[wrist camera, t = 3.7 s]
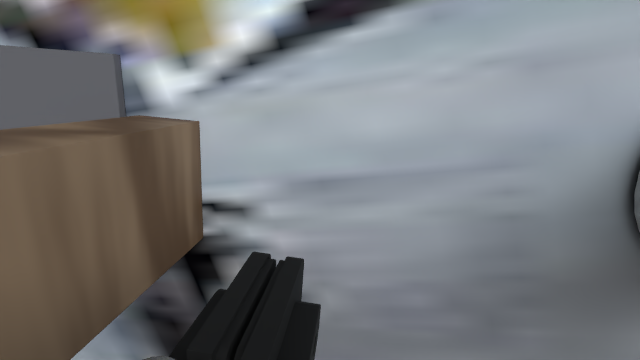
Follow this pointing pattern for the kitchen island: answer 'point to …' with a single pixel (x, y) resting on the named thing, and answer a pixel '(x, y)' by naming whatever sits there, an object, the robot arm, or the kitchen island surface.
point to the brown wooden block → (90, 225)
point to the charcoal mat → (58, 87)
